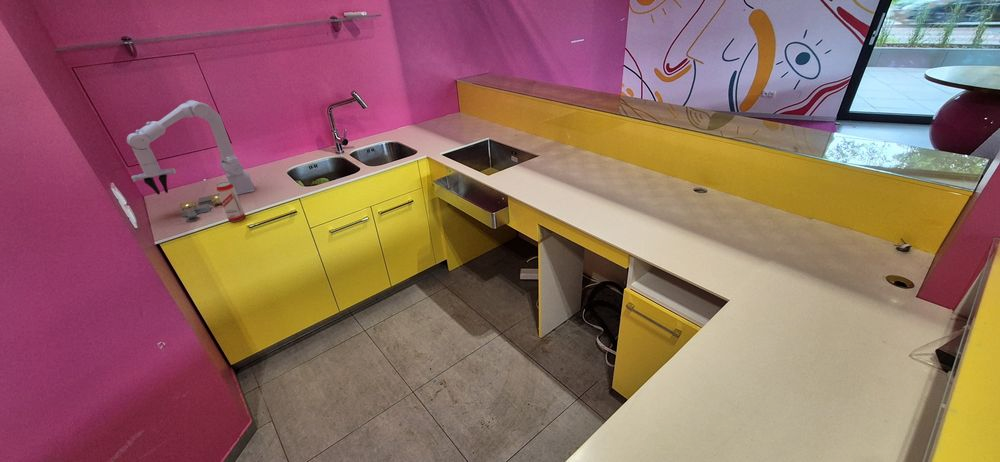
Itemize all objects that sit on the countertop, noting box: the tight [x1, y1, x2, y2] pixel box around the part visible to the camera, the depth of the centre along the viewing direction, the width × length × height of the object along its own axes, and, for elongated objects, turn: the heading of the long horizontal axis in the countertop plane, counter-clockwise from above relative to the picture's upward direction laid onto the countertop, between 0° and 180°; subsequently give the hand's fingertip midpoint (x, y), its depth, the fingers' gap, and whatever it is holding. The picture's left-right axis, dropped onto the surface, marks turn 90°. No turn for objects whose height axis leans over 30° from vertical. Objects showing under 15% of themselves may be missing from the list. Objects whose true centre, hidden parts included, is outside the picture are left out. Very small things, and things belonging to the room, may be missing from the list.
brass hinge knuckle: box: [179, 200, 211, 218], centre depth 184 cm, size 10×8×4 cm
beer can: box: [216, 181, 246, 223], centre depth 173 cm, size 6×6×16 cm
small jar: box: [180, 201, 199, 220], centre depth 176 cm, size 4×4×7 cm
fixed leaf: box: [198, 193, 222, 206], centre depth 191 cm, size 10×10×4 cm
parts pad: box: [185, 215, 199, 223], centre depth 178 cm, size 4×4×1 cm
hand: (163, 192), depth 178 cm, fingers closed
